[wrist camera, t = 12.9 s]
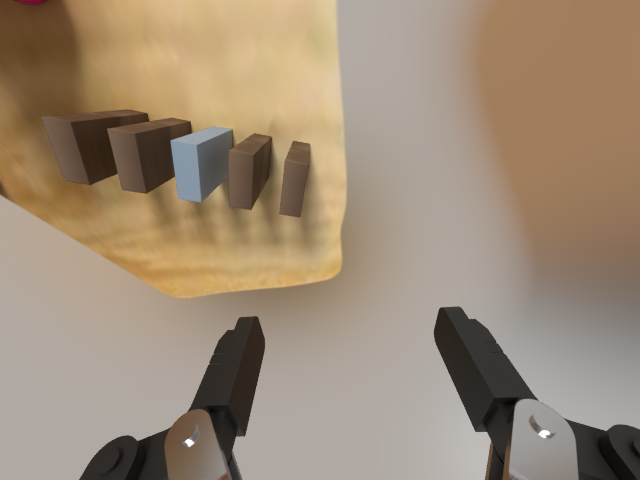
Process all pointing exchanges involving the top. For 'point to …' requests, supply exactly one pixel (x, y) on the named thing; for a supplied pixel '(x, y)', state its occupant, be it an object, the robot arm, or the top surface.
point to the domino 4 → (248, 170)
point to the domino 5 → (294, 179)
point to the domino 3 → (201, 162)
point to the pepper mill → (31, 1)
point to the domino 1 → (87, 143)
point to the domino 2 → (146, 152)
